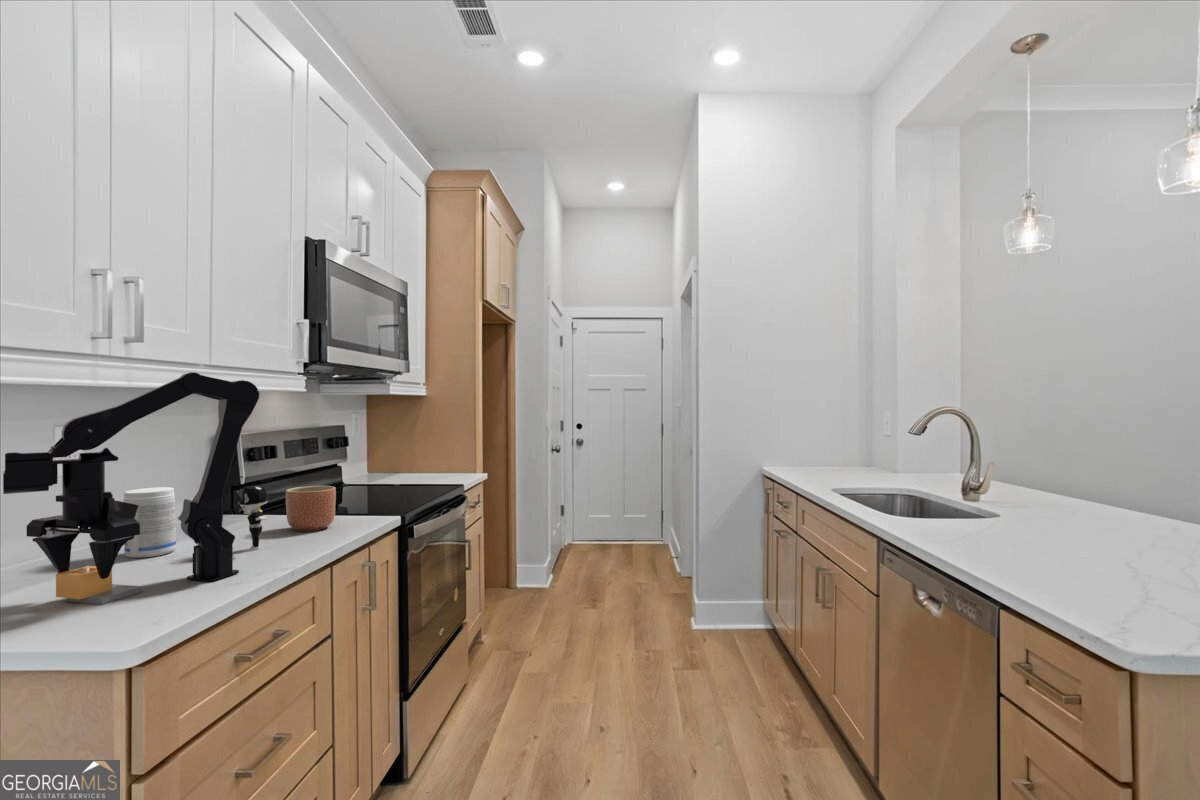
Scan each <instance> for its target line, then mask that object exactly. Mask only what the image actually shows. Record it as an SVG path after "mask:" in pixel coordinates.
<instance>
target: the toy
mask: <svg viewBox="0 0 1200 800" xmlns="http://www.w3.org/2000/svg"><path fill="white" fill-rule="evenodd" d="M241 495H242V500H241V502H240V503H239V505H240V508H241V509H242V510H243V514H244V515H247V520H248V524H249V525H248V529H249V532H250V534H251V539H252V546H250V548H249V550H251V551H258V550H259V545H260V535H261V532H262V531H263V525H262V523H261V521H263V520H268V518H267V517H266V515H264V514H263V510H262V509H261V506H264V505H265V504H267V503H268V500H269V493H268V490H267V487H266V486H262V485H256V484H255V485H249V486H248V485H247V486H244V487H243V490H242V494H241Z"/></svg>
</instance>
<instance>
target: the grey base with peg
mask: <svg viewBox="0 0 1200 800" xmlns="http://www.w3.org/2000/svg"><path fill="white" fill-rule="evenodd" d="M78 568H79V574H83V573H87V572H90V567H86V566H83V567H78ZM142 589H143V586H141V585H129V584H128V585H127V584H119V583H118V584H117V583H112V590H110V591H107V592H103V593H100V594H96V595H93V596H90V597H86V598H83V599H71V598H66V602H74V603H84V604H85V603H86V604H95V605H96V604H97V605H105V604H108V603H111V602H114V601H118V600H120V599H123V598H128V597H129V596H133V595H136V594H139V593H142V591H143V590H142Z"/></svg>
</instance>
